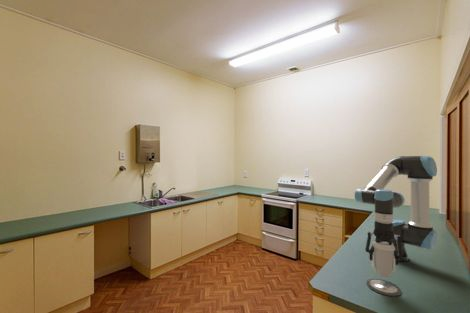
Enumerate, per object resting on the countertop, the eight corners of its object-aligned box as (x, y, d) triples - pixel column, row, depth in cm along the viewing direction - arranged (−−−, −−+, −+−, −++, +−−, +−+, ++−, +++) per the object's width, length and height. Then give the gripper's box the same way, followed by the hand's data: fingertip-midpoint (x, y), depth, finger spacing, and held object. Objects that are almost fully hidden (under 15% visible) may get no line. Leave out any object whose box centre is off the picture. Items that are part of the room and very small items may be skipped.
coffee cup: (386, 269, 114) (386, 239, 114) (400, 278, 105) (400, 246, 105) (367, 268, 114) (367, 239, 114) (380, 278, 104) (380, 246, 105)
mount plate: (365, 277, 119) (365, 275, 119) (397, 284, 113) (397, 282, 113) (368, 291, 106) (368, 289, 106) (404, 299, 100) (404, 297, 100)
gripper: (360, 220, 111) (359, 267, 110) (411, 226, 102) (411, 277, 102) (358, 217, 118) (358, 261, 117) (407, 222, 109) (407, 270, 108)
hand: (383, 269), depth 109 cm, fingers closed on coffee cup, 8 cm apart
